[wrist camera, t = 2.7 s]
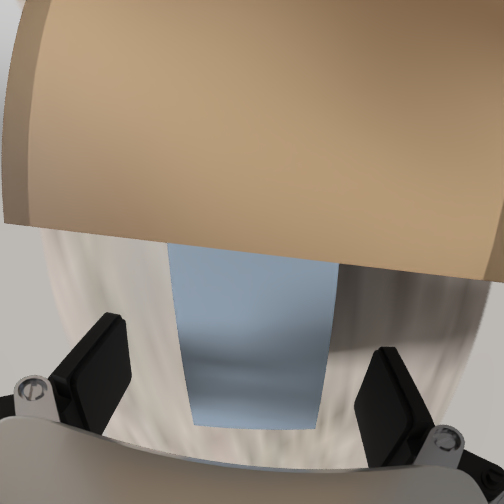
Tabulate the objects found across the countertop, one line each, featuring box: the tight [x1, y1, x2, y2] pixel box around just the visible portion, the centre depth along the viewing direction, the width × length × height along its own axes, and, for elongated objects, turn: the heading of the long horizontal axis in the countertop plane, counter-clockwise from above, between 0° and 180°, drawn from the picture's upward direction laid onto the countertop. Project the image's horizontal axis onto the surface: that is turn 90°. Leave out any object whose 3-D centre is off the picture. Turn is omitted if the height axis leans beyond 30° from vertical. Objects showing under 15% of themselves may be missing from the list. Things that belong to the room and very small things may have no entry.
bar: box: [167, 243, 339, 430], centre depth 11 cm, size 12×4×5 cm, turn 1°
